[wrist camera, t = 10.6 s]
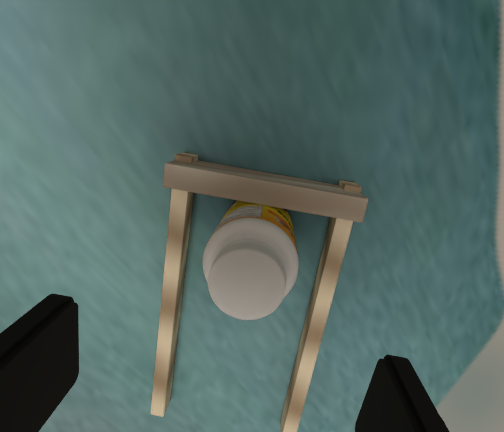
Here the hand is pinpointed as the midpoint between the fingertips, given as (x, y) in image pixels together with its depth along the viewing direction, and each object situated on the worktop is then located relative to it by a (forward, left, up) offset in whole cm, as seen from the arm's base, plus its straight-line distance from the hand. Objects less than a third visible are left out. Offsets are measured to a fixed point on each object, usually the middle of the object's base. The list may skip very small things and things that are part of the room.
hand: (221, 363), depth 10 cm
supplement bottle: (+1, 0, -17) cm, 16 cm away
